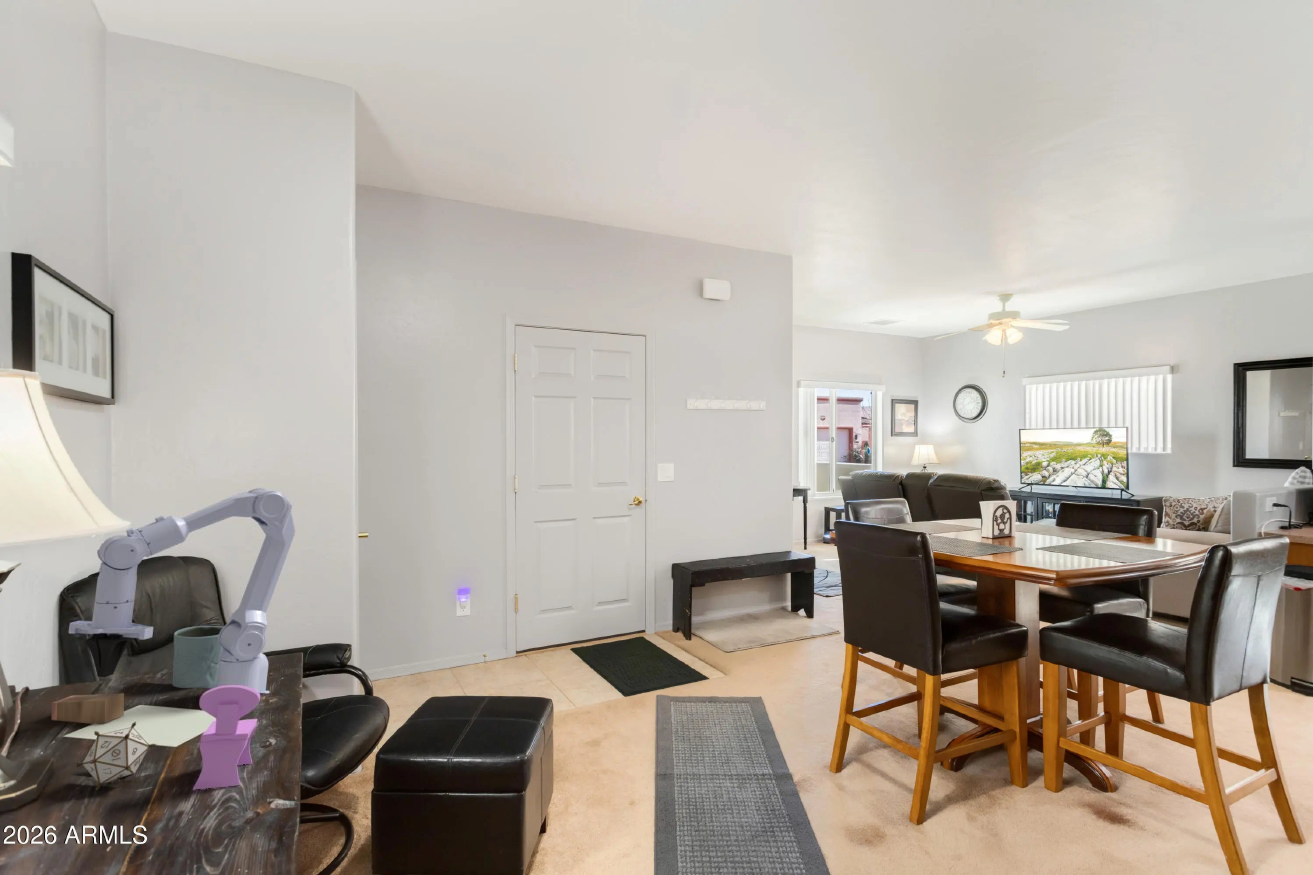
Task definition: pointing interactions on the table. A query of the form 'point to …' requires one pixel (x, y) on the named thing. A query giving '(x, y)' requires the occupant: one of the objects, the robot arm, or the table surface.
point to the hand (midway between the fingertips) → (105, 675)
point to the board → (154, 725)
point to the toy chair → (226, 734)
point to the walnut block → (89, 708)
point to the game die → (115, 755)
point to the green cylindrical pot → (196, 657)
